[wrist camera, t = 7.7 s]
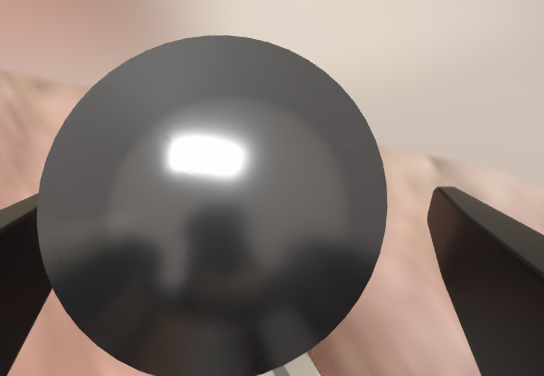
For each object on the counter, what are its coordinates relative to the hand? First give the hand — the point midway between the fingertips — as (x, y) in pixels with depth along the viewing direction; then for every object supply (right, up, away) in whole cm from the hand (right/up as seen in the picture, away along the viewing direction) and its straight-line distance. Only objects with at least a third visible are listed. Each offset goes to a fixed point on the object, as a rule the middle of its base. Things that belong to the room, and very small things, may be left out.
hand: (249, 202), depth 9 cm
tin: (0, -2, +7) cm, 8 cm away
